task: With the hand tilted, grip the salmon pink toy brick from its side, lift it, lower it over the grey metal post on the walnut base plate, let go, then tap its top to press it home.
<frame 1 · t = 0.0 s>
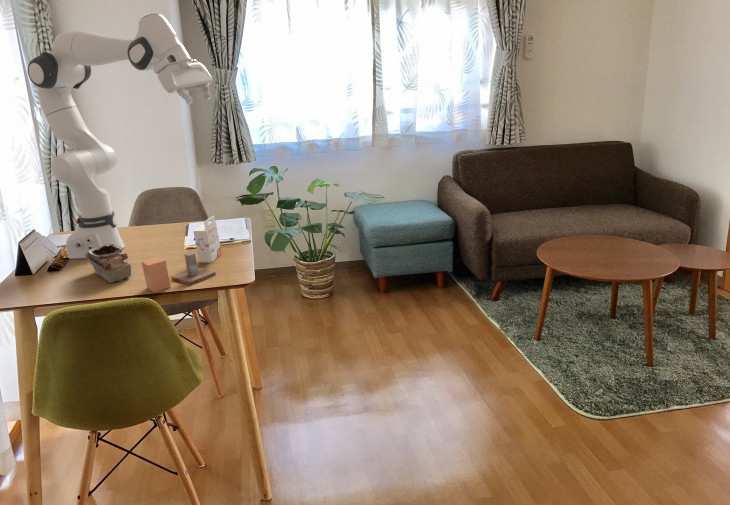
hand: (200, 100, 198), 54 cm above the table, tool tilted 30°, fingers open, 8 cm apart
salmon pink toy brick: (158, 287, 198), on the table
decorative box: (106, 276, 211), on the table
post stand: (193, 277, 204), on the table
ink cartridge box: (210, 258, 220), on the table
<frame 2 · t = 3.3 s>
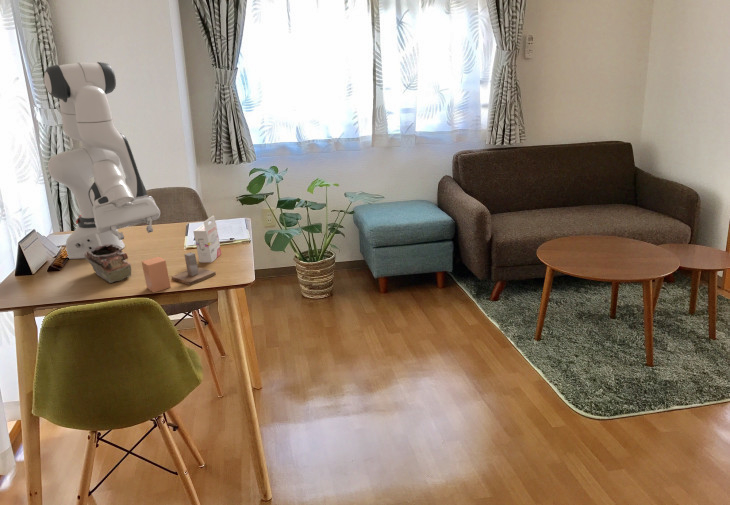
hand: (136, 235, 201), 15 cm above the table, tool tilted 45°, fingers open, 8 cm apart
nothing on the table moved.
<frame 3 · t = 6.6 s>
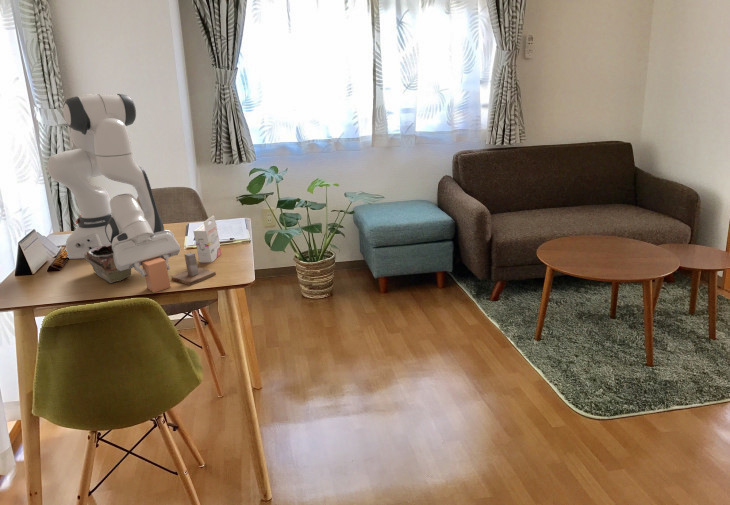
hand: (156, 272, 195), 5 cm above the table, tool tilted 45°, fingers closed on salmon pink toy brick, 6 cm apart
salmon pink toy brick: (158, 287, 198), on the table, touching gripper
everything else where it was.
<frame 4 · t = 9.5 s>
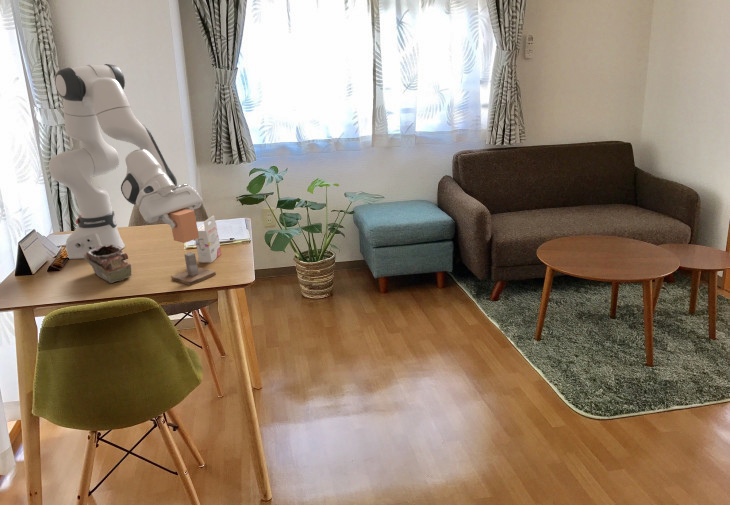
hand: (184, 223, 197), 18 cm above the table, tool tilted 45°, fingers closed on salmon pink toy brick, 6 cm apart
salmon pink toy brick: (186, 239, 199), point 13 cm above the table, touching gripper
everything else where it was.
when the fingers open (8 cm above the table, at t = 12.4 s): salmon pink toy brick drops 2 cm, resting on post stand.
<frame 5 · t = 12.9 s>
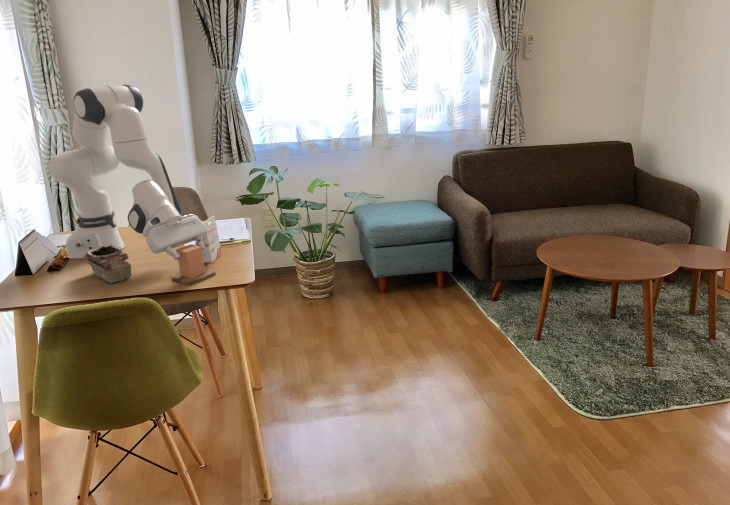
hand: (190, 253, 201), 8 cm above the table, tool tilted 45°, fingers open, 8 cm apart
salmon pink toy brick: (193, 274, 204), point 1 cm above the table, touching post stand
everything else where it was.
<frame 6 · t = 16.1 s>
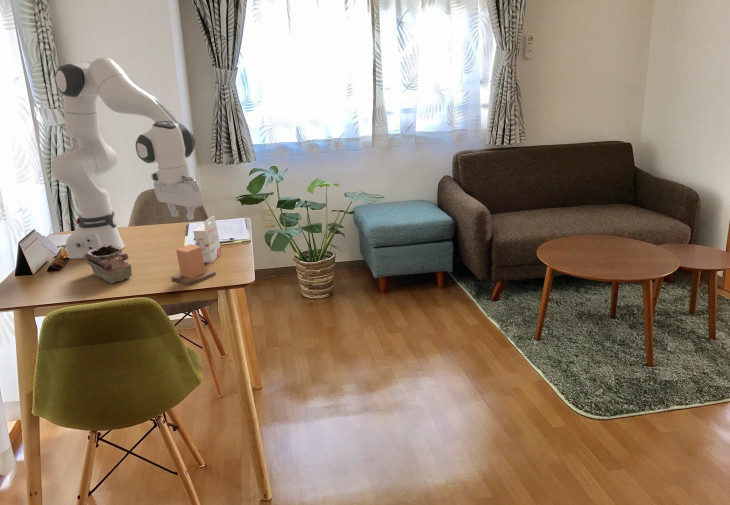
hand: (182, 217, 197), 20 cm above the table, tool pointing down, fingers open, 7 cm apart
nothing on the table moved.
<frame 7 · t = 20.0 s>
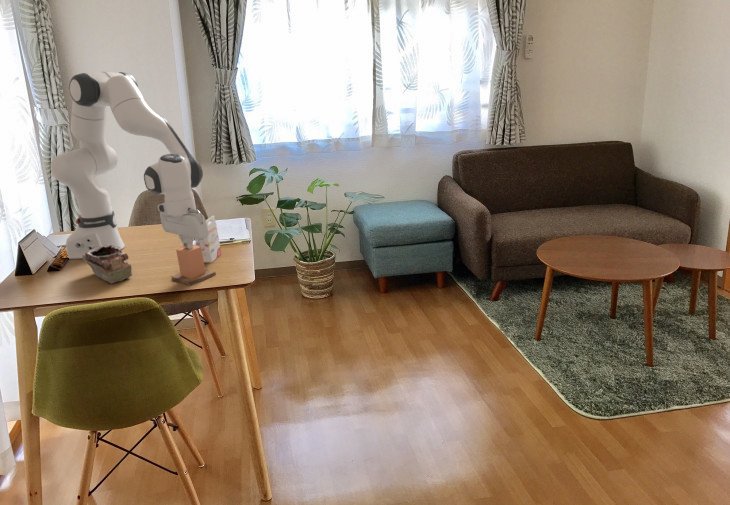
hand: (188, 248, 200), 10 cm above the table, tool pointing down, fingers closed, pressing on salmon pink toy brick
salmon pink toy brick: (193, 274, 204), point 1 cm above the table, touching gripper, post stand
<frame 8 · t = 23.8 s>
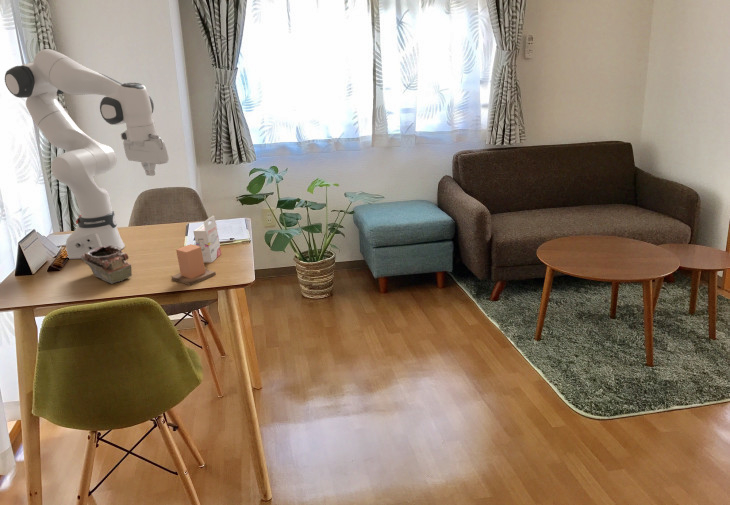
hand: (150, 175, 209), 31 cm above the table, tool pointing down, fingers closed
salmon pink toy brick: (193, 274, 204), point 1 cm above the table, touching post stand
at the end: salmon pink toy brick 0.0 cm from the post stand (horizontally); salmon pink toy brick point 1.0 cm above the table; salmon pink toy brick tilted 0° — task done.
